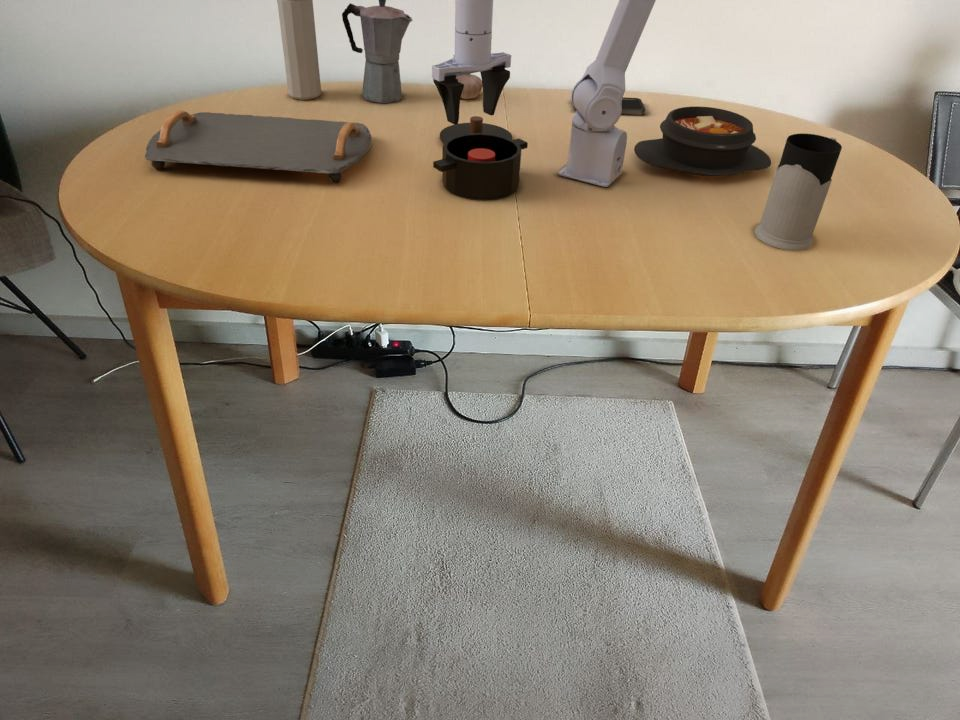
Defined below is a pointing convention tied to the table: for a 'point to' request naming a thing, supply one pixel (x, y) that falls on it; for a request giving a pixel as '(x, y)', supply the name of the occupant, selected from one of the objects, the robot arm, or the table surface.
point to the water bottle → (300, 48)
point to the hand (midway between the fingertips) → (471, 118)
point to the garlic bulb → (470, 85)
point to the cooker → (481, 166)
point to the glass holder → (798, 191)
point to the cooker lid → (473, 129)
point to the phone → (631, 106)
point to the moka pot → (380, 49)
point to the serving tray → (259, 143)
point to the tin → (481, 155)
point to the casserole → (704, 143)
